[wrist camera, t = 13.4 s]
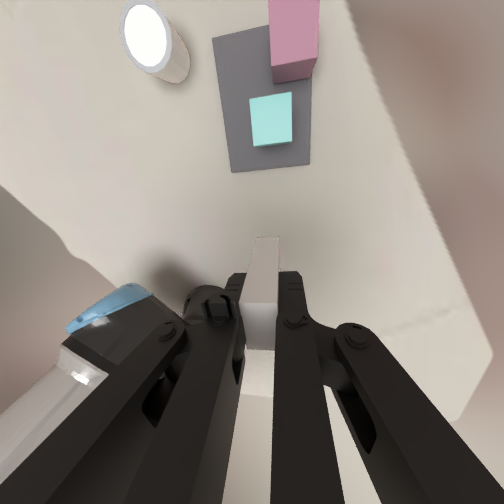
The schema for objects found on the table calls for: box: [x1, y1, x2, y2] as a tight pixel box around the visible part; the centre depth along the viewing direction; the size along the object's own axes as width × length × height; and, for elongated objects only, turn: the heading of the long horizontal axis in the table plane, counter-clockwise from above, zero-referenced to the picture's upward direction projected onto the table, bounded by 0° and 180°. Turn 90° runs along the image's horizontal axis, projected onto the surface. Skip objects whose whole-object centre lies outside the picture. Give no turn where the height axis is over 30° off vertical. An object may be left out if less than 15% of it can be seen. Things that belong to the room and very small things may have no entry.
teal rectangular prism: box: [249, 92, 292, 147], centre depth 28 cm, size 5×5×7 cm
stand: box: [212, 0, 320, 173], centre depth 27 cm, size 14×18×9 cm
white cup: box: [119, 0, 190, 83], centre depth 27 cm, size 7×7×7 cm
